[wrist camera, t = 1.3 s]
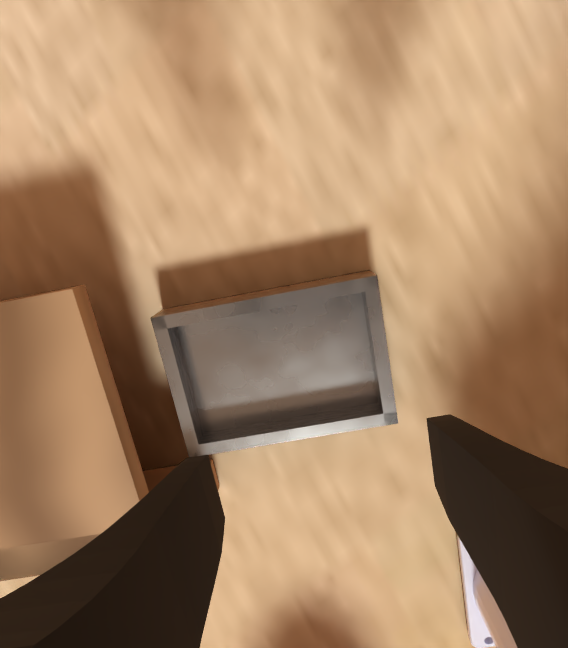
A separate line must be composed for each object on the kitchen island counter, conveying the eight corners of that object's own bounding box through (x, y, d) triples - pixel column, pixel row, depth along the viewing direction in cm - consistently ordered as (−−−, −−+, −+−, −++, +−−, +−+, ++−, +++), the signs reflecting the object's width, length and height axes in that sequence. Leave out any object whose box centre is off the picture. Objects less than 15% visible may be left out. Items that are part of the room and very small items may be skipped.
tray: (369, 269, 20) (376, 275, 18) (389, 406, 22) (398, 423, 20) (162, 309, 21) (150, 318, 19) (197, 438, 23) (189, 457, 21)
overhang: (161, 264, 20) (124, 278, 16) (219, 485, 23) (201, 550, 19) (-29, 301, 21) (-116, 325, 16) (51, 512, 24) (-5, 581, 19)
